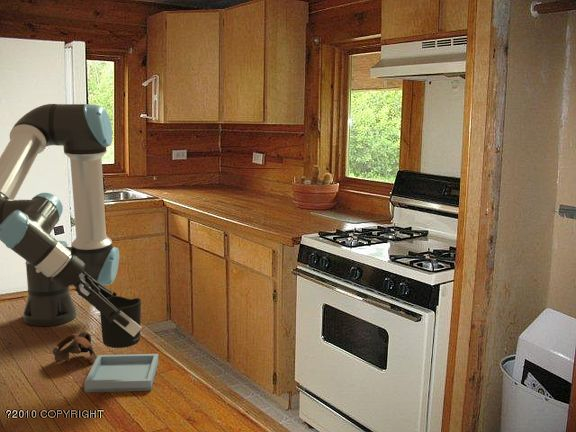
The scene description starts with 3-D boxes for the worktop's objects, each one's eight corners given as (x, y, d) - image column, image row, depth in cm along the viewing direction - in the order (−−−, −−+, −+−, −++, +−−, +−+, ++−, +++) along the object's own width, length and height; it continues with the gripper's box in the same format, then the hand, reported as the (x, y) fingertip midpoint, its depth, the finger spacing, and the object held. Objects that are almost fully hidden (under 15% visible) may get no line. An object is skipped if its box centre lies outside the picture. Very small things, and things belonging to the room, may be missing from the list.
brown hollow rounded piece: (92, 371, 150) (73, 347, 146) (62, 384, 152) (42, 360, 149) (107, 341, 160) (90, 318, 157) (78, 353, 162) (60, 331, 159)
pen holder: (109, 352, 137) (107, 310, 135) (95, 339, 145) (94, 299, 143) (148, 343, 143) (147, 303, 141) (132, 331, 150) (131, 293, 148)
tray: (98, 364, 152) (98, 355, 152) (158, 362, 154) (158, 353, 153) (84, 392, 138) (84, 382, 137) (151, 390, 139) (150, 380, 139)
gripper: (48, 265, 145) (118, 320, 154) (49, 292, 125) (129, 354, 134) (71, 243, 146) (139, 299, 155) (75, 265, 126) (153, 328, 135)
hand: (134, 324), depth 144 cm, fingers closed on pen holder, 9 cm apart
